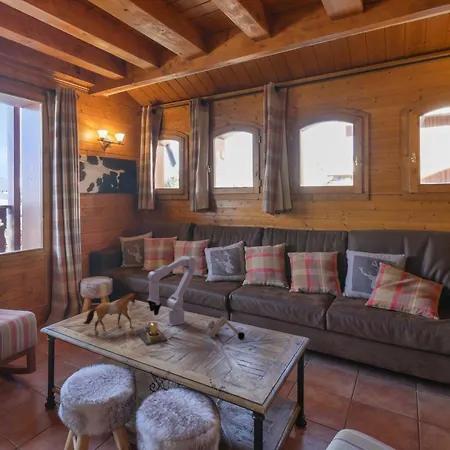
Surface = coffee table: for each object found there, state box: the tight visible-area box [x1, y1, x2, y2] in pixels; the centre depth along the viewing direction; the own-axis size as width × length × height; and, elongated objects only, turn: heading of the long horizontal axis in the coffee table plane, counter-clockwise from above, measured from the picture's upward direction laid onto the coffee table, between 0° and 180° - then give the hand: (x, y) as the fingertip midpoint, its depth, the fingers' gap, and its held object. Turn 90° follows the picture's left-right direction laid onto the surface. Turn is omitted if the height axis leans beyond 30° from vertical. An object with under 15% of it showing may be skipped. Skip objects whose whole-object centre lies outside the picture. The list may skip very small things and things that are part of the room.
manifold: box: [135, 321, 168, 346], centre depth 188 cm, size 12×21×6 cm, turn 31°
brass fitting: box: [150, 321, 158, 337], centre depth 184 cm, size 4×4×8 cm
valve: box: [206, 315, 246, 340], centre depth 187 cm, size 10×20×15 cm
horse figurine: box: [82, 292, 137, 334], centre depth 195 cm, size 31×8×21 cm, turn 117°
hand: (154, 312), depth 198 cm, fingers open, 7 cm apart
